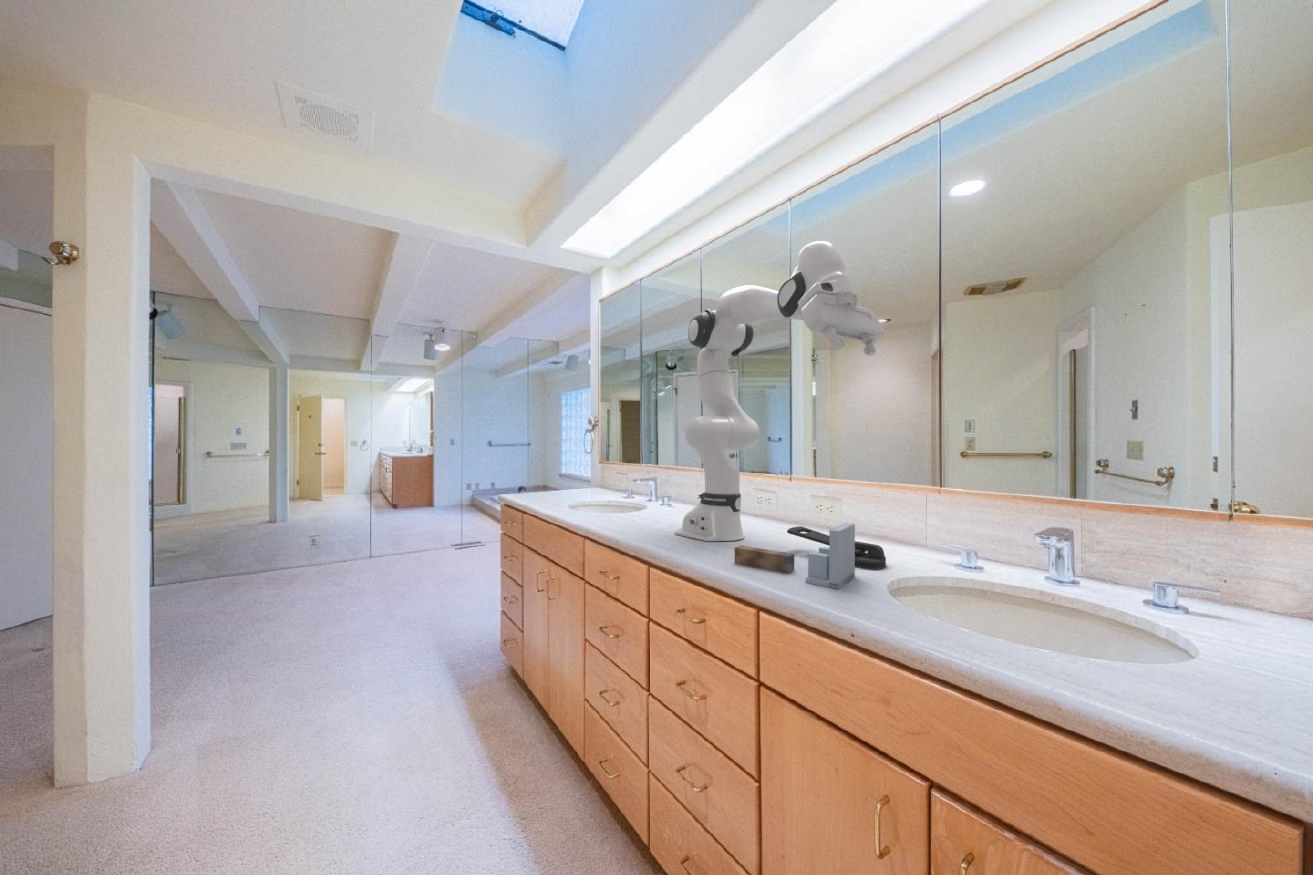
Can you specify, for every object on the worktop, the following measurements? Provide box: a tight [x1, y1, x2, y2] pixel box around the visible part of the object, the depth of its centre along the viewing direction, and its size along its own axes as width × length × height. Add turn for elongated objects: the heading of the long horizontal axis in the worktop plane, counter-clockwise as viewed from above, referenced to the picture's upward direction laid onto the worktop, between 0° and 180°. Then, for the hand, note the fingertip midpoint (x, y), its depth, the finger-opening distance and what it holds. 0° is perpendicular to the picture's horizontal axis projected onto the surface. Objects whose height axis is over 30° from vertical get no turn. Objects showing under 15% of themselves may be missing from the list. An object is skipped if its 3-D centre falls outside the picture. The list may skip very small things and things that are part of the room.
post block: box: [805, 522, 856, 590], centre depth 102 cm, size 7×12×12 cm, turn 142°
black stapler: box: [786, 525, 887, 571], centre depth 121 cm, size 9×7×25 cm
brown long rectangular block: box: [734, 545, 795, 575], centre depth 112 cm, size 14×4×4 cm, turn 52°
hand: (855, 351), depth 97 cm, fingers open, 8 cm apart
